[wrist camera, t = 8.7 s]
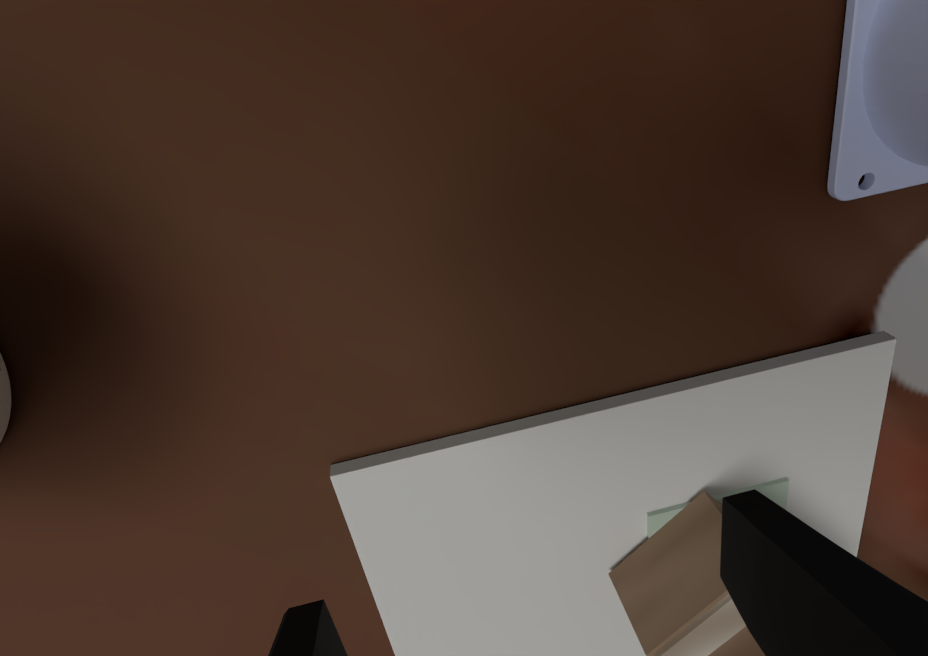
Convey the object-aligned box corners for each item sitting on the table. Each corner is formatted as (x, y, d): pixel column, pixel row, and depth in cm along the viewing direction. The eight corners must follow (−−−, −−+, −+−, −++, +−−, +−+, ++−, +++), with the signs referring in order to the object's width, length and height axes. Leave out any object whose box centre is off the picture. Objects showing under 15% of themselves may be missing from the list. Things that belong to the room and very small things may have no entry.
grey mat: (883, 331, 22) (901, 341, 21) (836, 607, 29) (848, 621, 28) (330, 464, 20) (329, 480, 20) (422, 719, 27) (423, 737, 27)
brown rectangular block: (812, 572, 26) (878, 651, 22) (723, 642, 27) (774, 726, 24) (703, 490, 23) (762, 569, 19) (608, 573, 24) (648, 660, 20)
